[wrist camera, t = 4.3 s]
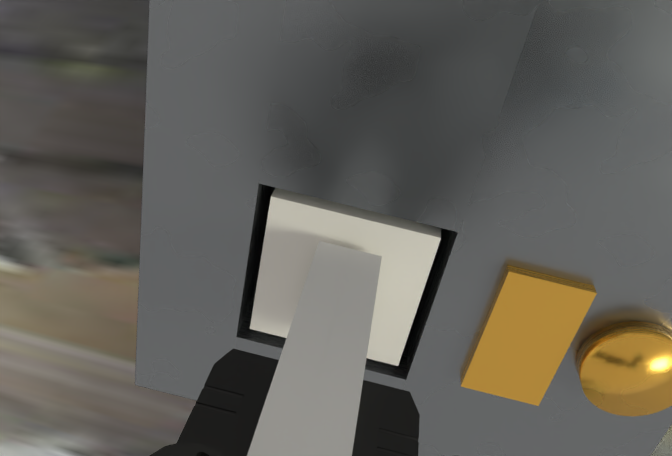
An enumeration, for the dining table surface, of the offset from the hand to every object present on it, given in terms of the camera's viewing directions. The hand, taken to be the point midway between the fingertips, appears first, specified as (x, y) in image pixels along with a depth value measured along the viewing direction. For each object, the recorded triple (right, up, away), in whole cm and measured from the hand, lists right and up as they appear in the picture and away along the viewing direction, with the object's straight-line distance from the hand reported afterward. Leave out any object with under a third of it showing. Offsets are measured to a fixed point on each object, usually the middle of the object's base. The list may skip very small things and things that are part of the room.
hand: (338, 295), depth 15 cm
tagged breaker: (+1, +3, +5) cm, 5 cm away
